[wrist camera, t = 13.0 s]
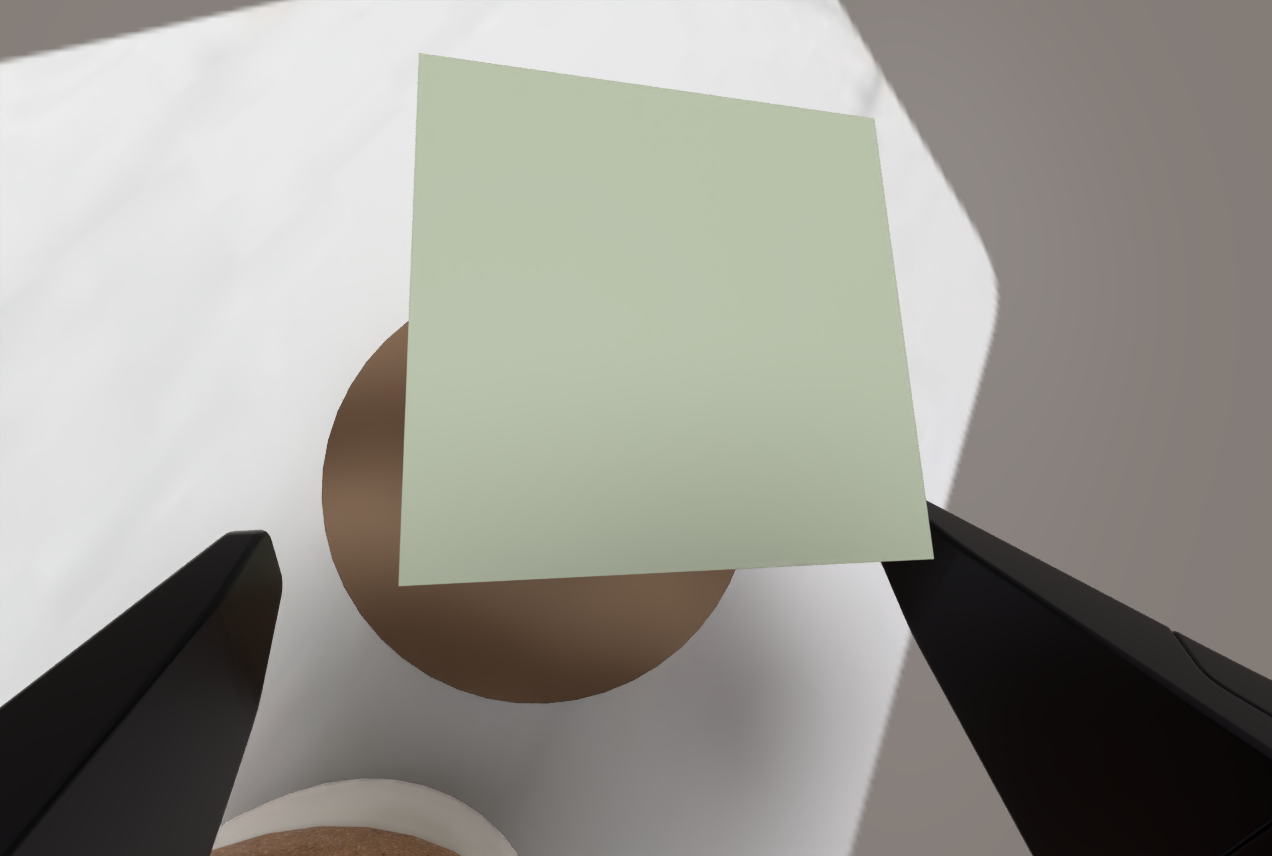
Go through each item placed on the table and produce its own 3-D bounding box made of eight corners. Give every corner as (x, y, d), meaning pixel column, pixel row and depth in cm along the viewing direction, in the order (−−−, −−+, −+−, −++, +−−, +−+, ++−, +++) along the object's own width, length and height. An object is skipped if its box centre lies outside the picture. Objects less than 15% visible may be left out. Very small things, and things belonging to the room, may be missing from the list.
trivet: (715, 708, 19) (732, 721, 18) (286, 670, 17) (266, 681, 15) (748, 338, 22) (765, 324, 21) (388, 260, 20) (380, 238, 18)
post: (636, 555, 18) (934, 558, 6) (468, 562, 17) (398, 586, 5) (631, 398, 19) (874, 119, 7) (471, 394, 18) (419, 53, 6)
